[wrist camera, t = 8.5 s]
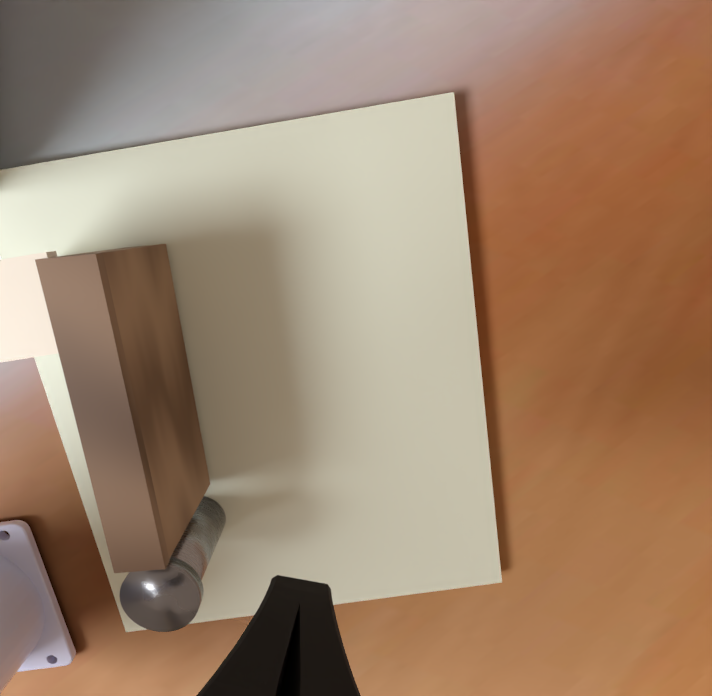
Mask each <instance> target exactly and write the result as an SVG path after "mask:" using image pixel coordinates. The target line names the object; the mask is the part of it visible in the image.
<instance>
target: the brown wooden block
mask: <svg viewBox="0 0 712 696" xmlns="http://www.w3.org/2000/svg"><path fill="white" fill-rule="evenodd" d="M35 262H36V266H37V270H38V274H39V278H40V282H41V286H42V290H43V294H44V297H45V301H46V305H47V309H48V313H49V317H50V321H51V325H52V329H53V333H54V337H55V341H56V345H57V349H58V353H59V357H60V361H61V365H62V369H63V373H64V377H65V381H66V385H67V389H68V392H69V396H70V400H71V404H72V408H73V412H74V416H75V420H76V424H77V428H78V432H79V436H80V440H81V444H82V448H83V452H84V456H85V460H86V464H87V468H88V472H89V476H90V480H91V484H92V488H93V491H94V495H95V499H96V503H97V507H98V511H99V515H100V519H101V523H102V527H103V531H104V535H105V539H106V543H107V547H108V551H109V555H110V559H111V563H112V567H113V571H114V573H124V572H137V571H149V570H162V569H166V567H167V565H168V563H169V562H170V560H169V559H170V557H171V555H172V553H173V552H174V550H175V548H176V546H177V544H178V542H179V541H180V539H181V537H182V535H183V533H184V531H185V530H186V528H187V526H188V524H189V522H190V520H191V519H192V517H193V515H194V513H195V511H196V509H197V507H198V506H199V504H200V502H201V500H202V498H203V496H204V495H205V493H206V491H207V489H208V487H209V485H210V479H209V474H208V468H207V463H206V458H205V452H204V447H203V441H202V436H201V431H200V425H199V420H198V414H197V409H196V404H195V398H194V393H193V387H192V382H191V377H190V371H189V366H188V360H187V355H186V350H185V344H184V339H183V333H182V328H181V323H180V317H179V312H178V306H177V301H176V296H175V290H174V285H173V279H172V274H171V269H170V263H169V258H168V252H167V247H166V244H157V245H146V246H136V247H125V248H117V249H110V250H103V251H95V252H88V253H80V254H73V255H65V256H58V257H50V258H42V259H35Z"/></svg>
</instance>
